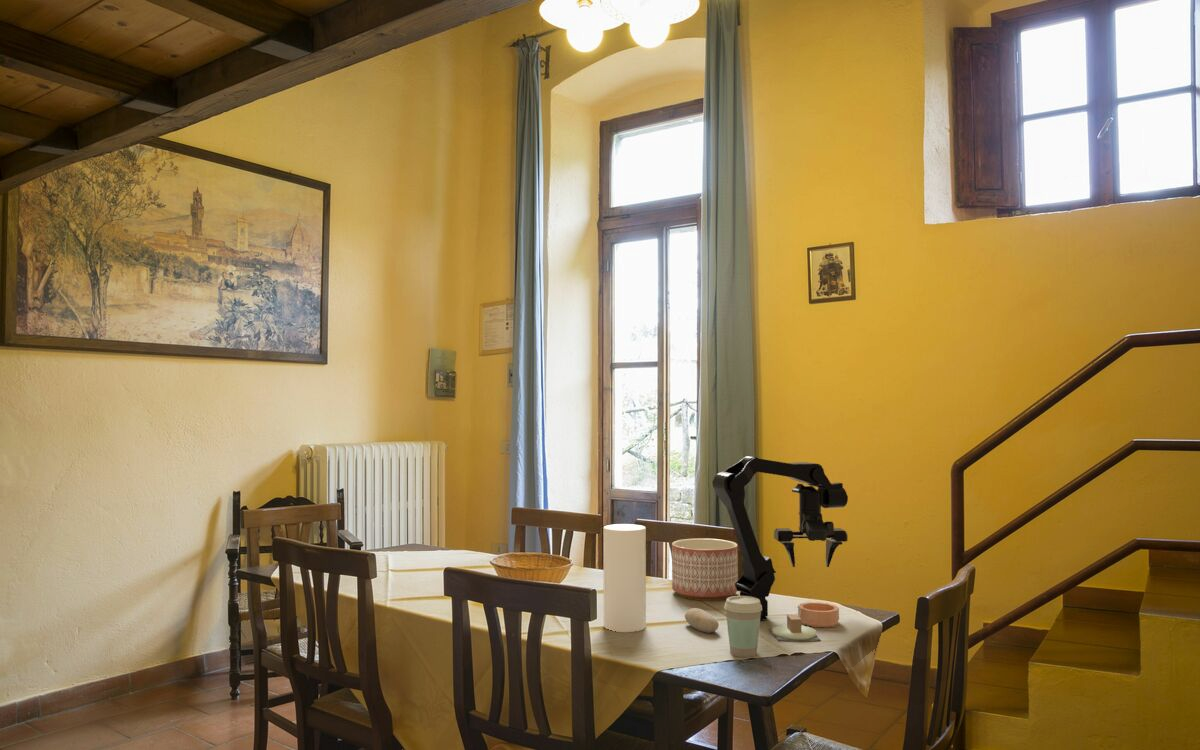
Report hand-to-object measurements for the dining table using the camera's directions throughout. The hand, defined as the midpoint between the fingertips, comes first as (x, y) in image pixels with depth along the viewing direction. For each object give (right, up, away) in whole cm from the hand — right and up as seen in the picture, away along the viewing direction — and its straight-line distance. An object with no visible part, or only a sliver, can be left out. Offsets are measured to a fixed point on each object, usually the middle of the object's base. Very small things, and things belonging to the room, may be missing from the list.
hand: (810, 566), depth 220 cm
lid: (-10, -11, -23) cm, 27 cm away
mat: (-10, -11, -22) cm, 27 cm away
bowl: (-1, -12, -11) cm, 16 cm away
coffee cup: (-25, -11, -37) cm, 46 cm away
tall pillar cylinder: (-51, -12, -15) cm, 54 cm away
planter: (-26, -13, +19) cm, 35 cm away
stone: (-32, -12, -18) cm, 38 cm away
